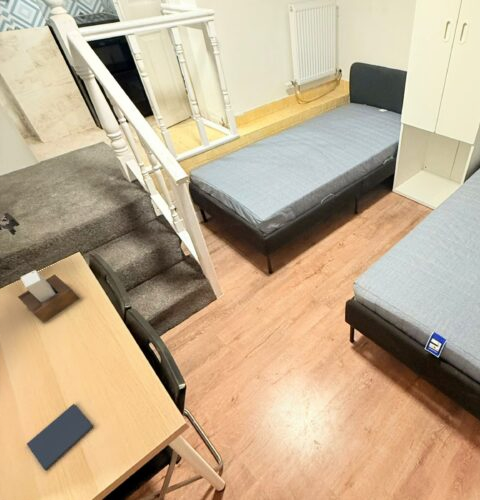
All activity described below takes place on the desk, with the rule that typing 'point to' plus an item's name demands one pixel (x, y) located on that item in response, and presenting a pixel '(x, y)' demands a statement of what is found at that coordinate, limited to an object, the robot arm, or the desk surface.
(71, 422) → the mat
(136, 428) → the desk surface
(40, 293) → the cosmetic box
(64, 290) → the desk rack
